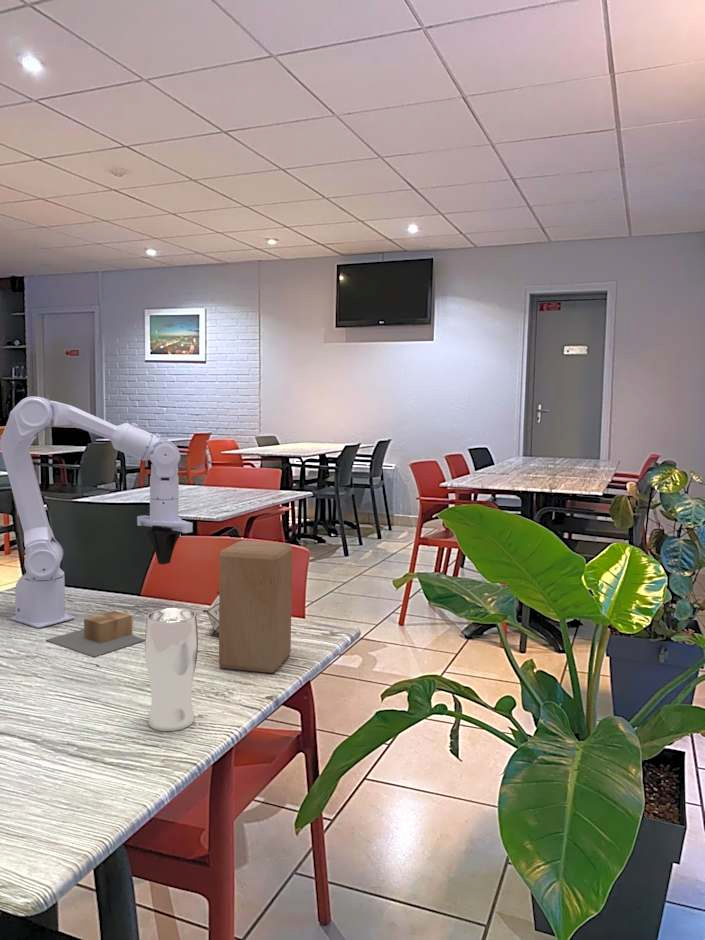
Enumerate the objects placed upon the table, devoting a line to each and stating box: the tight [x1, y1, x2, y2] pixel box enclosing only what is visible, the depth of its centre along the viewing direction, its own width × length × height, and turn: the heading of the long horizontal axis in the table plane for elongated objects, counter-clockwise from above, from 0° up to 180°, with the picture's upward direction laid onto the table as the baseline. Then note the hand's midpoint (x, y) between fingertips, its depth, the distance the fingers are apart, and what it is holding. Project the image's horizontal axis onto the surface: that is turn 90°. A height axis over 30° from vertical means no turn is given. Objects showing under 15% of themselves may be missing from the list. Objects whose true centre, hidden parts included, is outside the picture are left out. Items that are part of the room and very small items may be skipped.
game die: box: [202, 589, 219, 636], centre depth 133 cm, size 9×8×10 cm
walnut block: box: [83, 609, 134, 643], centre depth 130 cm, size 5×4×7 cm
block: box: [218, 539, 293, 674], centre depth 118 cm, size 10×10×20 cm
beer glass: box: [144, 607, 199, 732], centre depth 95 cm, size 7×7×15 cm
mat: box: [45, 628, 145, 658], centre depth 128 cm, size 14×11×1 cm
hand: (164, 563), depth 145 cm, fingers closed
